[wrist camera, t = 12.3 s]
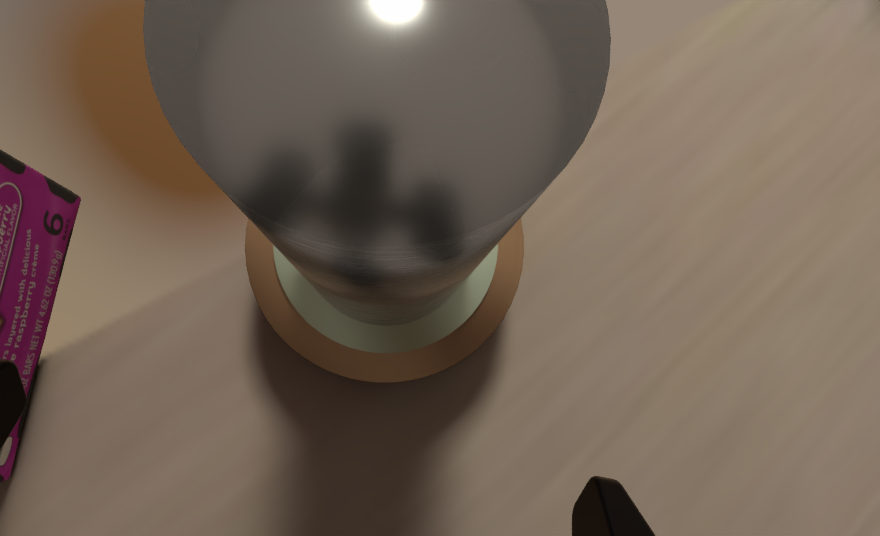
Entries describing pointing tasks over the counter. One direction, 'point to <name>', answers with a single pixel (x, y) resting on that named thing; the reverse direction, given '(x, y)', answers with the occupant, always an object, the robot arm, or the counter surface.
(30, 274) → the candy bar box
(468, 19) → the grey tin
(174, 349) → the counter surface
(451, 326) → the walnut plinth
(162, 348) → the counter surface
